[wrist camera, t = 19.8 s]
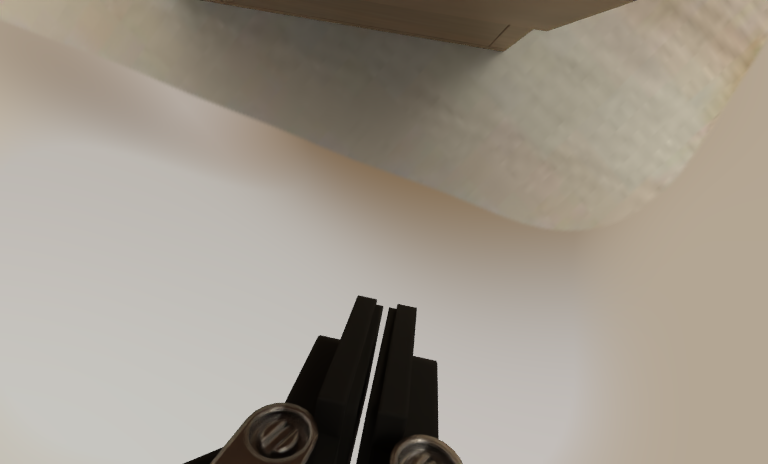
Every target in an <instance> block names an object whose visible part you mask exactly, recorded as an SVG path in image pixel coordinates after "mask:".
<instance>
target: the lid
mask: <svg viewBox="0 0 768 464" xmlns="http://www.w3.org/2000/svg"><path fill="white" fill-rule="evenodd" d="M361 1H367V2H373V3H379V4H386V5H392V6H398V7H404V8H410V9H416V10H422V11H428V12H434V13H440V14H446V15H452V16H458V17H464V18H470V19H476V20H482V21H488V22H494V23H500V24H506V25H512V26H518V27H524V28H531V29H537V30H543V31H549V30H552V29H555V28H558V27H561V26H564V25H566V24H569V23H572V22H575V21H578V20H581V19H584V18H587V17H590V16H593V15H596V14H598V13H601V12H604V11H607V10H610V9H613V8H616V7H619V6H622V5H625V4H628V3H630V2H633V1H636V0H361Z"/></svg>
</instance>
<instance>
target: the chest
mask: <svg viewBox="0 0 768 464" xmlns="http://www.w3.org/2000/svg"><path fill="white" fill-rule="evenodd" d="M202 1H208V2H214V3H220V4H226V5H231V6H237V7H243V8H249V9H255V10H261V11H267V12H273V13H278V14H284V15H290V16H296V17H302V18H308V19H314V20H320V21H326V22H331V23H337V24H343V25H349V26H355V27H361V28H367V29H373V30H378V31H384V32H390V33H396V34H402V35H408V36H414V37H420V38H426V39H431V40H437V41H443V42H449V43H455V44H461V45H467V46H473V47H478V48H484V49H490V50H496V51H502V52H503V51H505V50H507V49H508V48H509V47H511V46H512V45H513V44H515V43H516V42H517V41H519V40H520V39H521V38H522V37H524V36H525V35H526V34H528V33H529V32H530V31H532V30H533V29H531V28H524V27H518V26H512V25H506V24H500V23H494V22H488V21H482V20H476V19H470V18H464V17H458V16H452V15H446V14H440V13H434V12H428V11H422V10H416V9H410V8H404V7H398V6H392V5H386V4H379V3H373V2H367V1H361V0H202Z"/></svg>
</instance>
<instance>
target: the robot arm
mask: <svg viewBox="0 0 768 464" xmlns="http://www.w3.org/2000/svg"><path fill="white" fill-rule="evenodd" d="M376 302H377V300H376V299H372V298H368V297H363V296H358V297H357V299H356V302H355V304H354V307H353V310H352V312H351V314H350V317H349V319H348V322H347V324H346V327H345V329H344V332H343V334H342V337H341V339H340V340H339V339H335V338H330V337H326V336H321V335H320V336H318V338H317V340H316V342H315V344H314V346H313V348H312V350H311V352H310V354H309V356H308V358H307V360H306V362H305V364H304V366H303V368H302V370H301V372H300V374H299V376H298V378H297V380H296V382H295V384H294V386H293V388H292V390H291V392H290V394H289V396H288V398H287V400H286V402H285V403H275V404H271V405H267V406H264V407H262V408H260V409H258V410H256V411H255V412H254V413H253V414H252V415H250V416H249V417H248V418H247V419H246V420H245V422H244V423H243V424H242V425H241V427H240V428H239V429H238V430H237V431H236V433H235V434H234V435H233V436H232V438H231V439H230V440H229V441H228V442H227V444H226V445H225V446H224V447H222V448H220V449H218V450H216V451H213V452H210V453H208V454H206V455H203V456H201V457H198V458H196V459H194V460H191V461H189V462H186V463H184V464H350V461H351V457H352V452H353V448H354V444H355V440H356V435H357V431H358V427H359V423H360V418H361V414H362V410H363V405H364V401H365V396H366V392H367V388H368V383H369V377H370V372H371V367H372V362H373V357H374V352H375V346H376V342H377V336H378V331H379V326H380V321H381V316H382V311H383V306H380V305H376ZM416 311H417V308H414V307H410V306H405V305H400V304H398V305H397V309H394V308H389V311H388V316H387V320H386V325H385V330H384V334H383V339H382V343H381V348H380V352H379V357H378V361H377V366H376V371H375V375H374V380H373V385H372V389H371V394H370V399H369V403H368V408H367V412H366V417H365V423H364V428H363V433H362V437H361V443H360V448H359V453H358V458H357V463H356V464H463V463H462V461H461V460H460V458H459V457H458V455H457V454H456V453H455V451H454V450H453V449H452V448H450V447H449V446H448V445H447V444H445V443H444V442H442V441H440V440H439V439H438V381H437V362H436V361H433V360H429V359H425V358H420V357H416V356H413V348H414V336H415V324H416Z"/></svg>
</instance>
